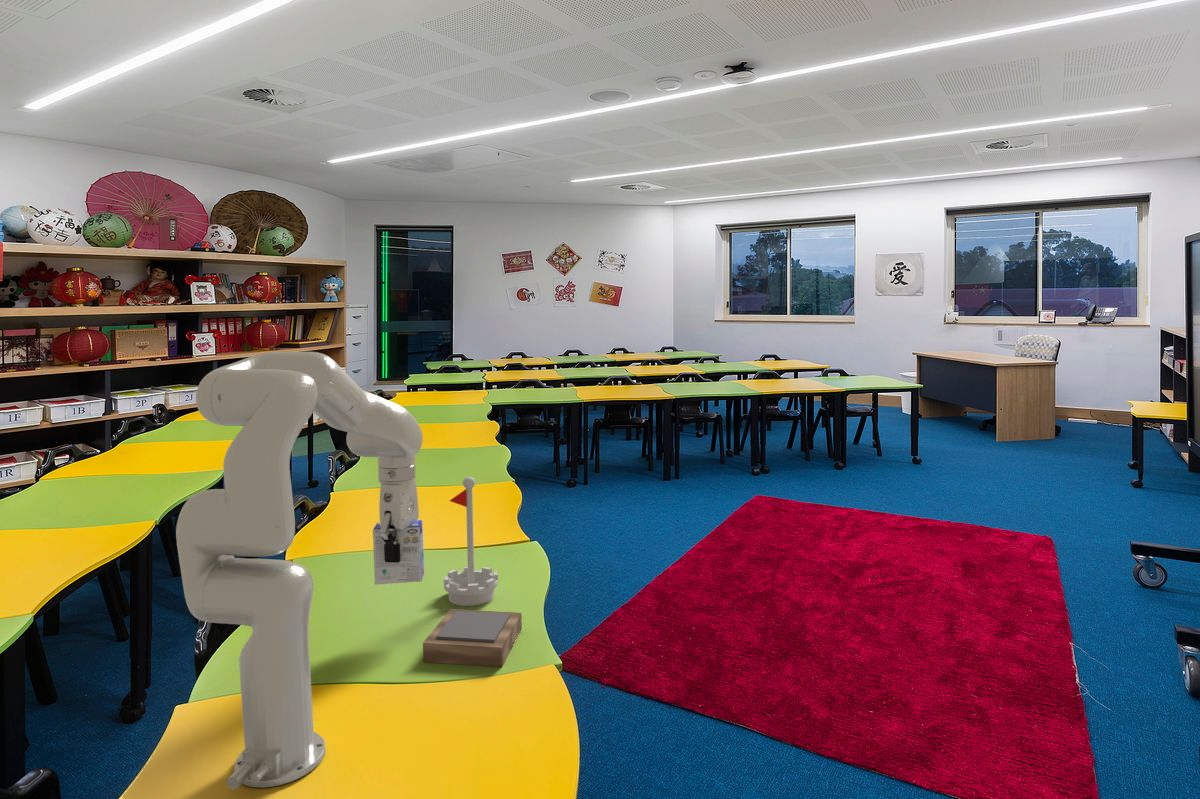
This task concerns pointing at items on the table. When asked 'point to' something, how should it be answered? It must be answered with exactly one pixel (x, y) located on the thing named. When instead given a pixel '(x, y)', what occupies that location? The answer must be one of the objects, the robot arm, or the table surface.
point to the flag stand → (470, 564)
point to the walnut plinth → (473, 638)
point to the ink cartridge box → (409, 556)
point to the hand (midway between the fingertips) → (399, 555)
